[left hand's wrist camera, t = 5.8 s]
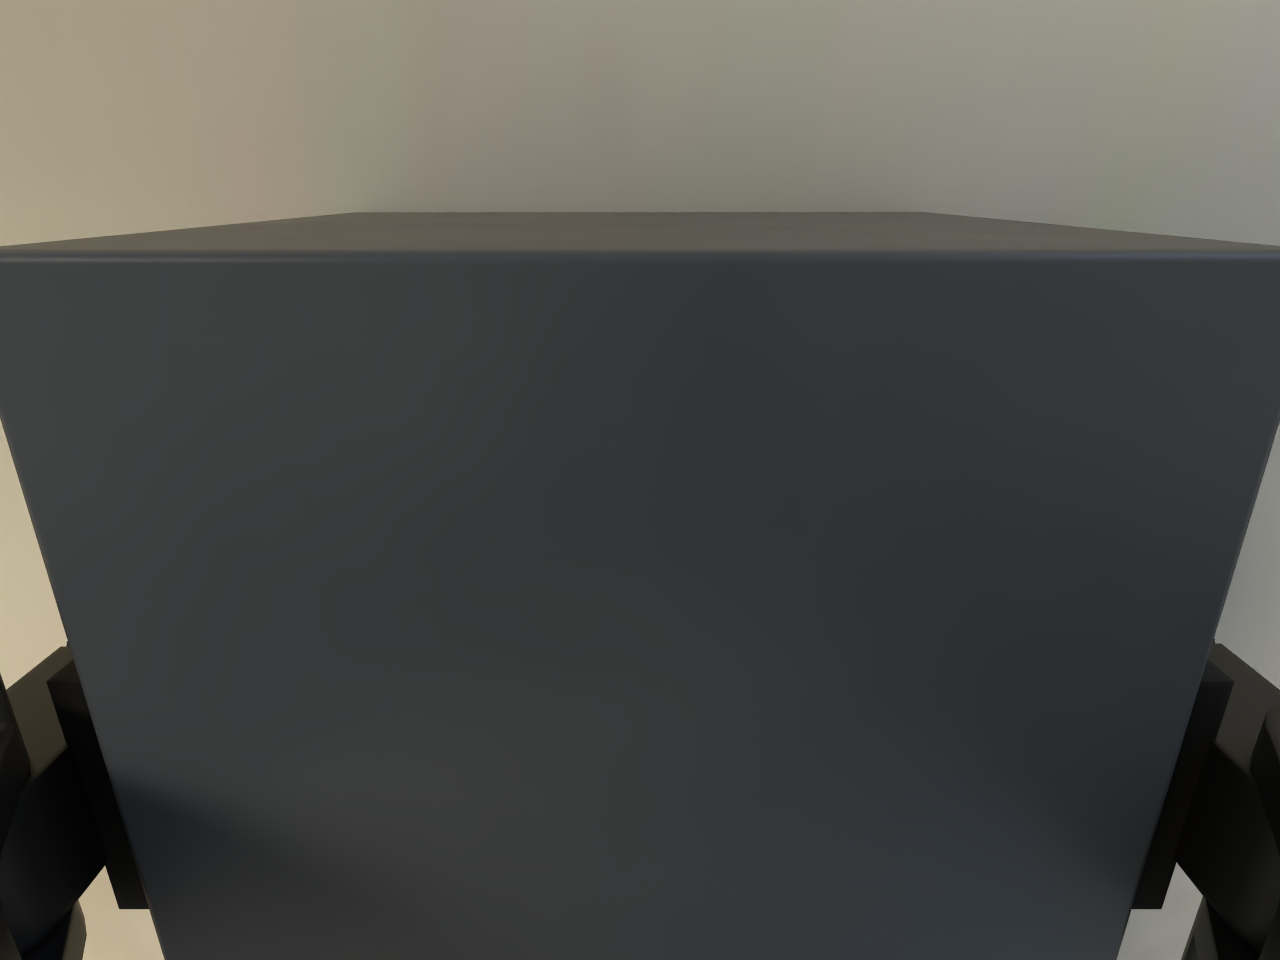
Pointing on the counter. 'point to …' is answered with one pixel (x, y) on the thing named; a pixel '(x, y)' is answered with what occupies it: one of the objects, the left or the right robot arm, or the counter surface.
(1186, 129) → the counter surface
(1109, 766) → the long dark grey beam
